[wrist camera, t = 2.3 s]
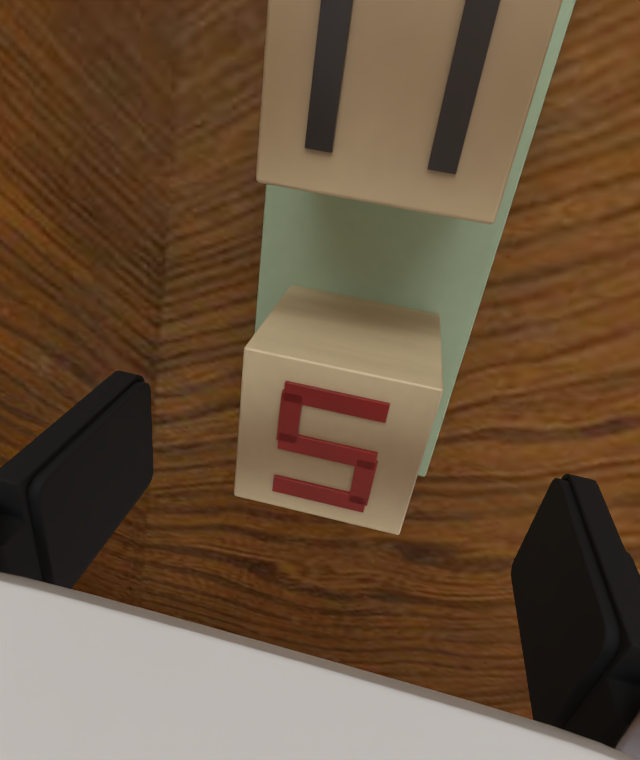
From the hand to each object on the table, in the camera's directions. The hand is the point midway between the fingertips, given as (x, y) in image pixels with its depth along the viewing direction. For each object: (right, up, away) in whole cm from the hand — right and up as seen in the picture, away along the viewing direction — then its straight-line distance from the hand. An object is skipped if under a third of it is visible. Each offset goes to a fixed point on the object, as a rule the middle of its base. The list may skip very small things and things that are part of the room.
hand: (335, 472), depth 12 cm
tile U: (+2, +9, 0) cm, 10 cm away
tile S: (+1, +3, +4) cm, 5 cm away
